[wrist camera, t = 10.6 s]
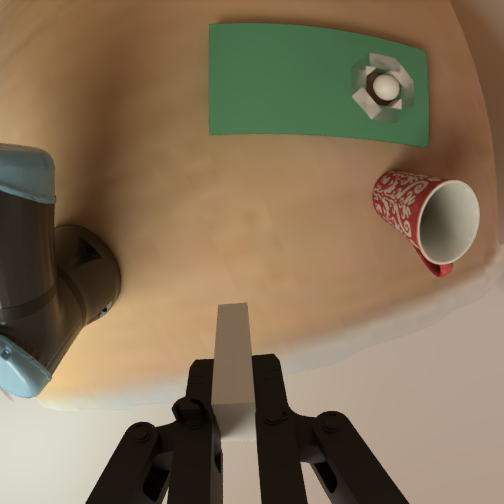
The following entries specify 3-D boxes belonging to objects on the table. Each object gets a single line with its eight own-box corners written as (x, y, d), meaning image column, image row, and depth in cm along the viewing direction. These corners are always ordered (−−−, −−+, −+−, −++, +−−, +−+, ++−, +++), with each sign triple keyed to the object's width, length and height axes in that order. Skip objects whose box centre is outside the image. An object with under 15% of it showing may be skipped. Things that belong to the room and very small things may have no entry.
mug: (357, 173, 36) (410, 194, 23) (412, 156, 35) (476, 170, 22) (377, 257, 40) (423, 305, 28) (426, 236, 39) (481, 274, 27)
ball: (404, 101, 29) (392, 103, 32) (403, 75, 27) (391, 78, 31) (379, 97, 29) (369, 99, 32) (378, 70, 27) (368, 74, 31)
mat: (211, 134, 33) (209, 134, 31) (211, 31, 28) (209, 24, 26) (418, 146, 34) (428, 147, 32) (416, 54, 29) (425, 51, 27)
